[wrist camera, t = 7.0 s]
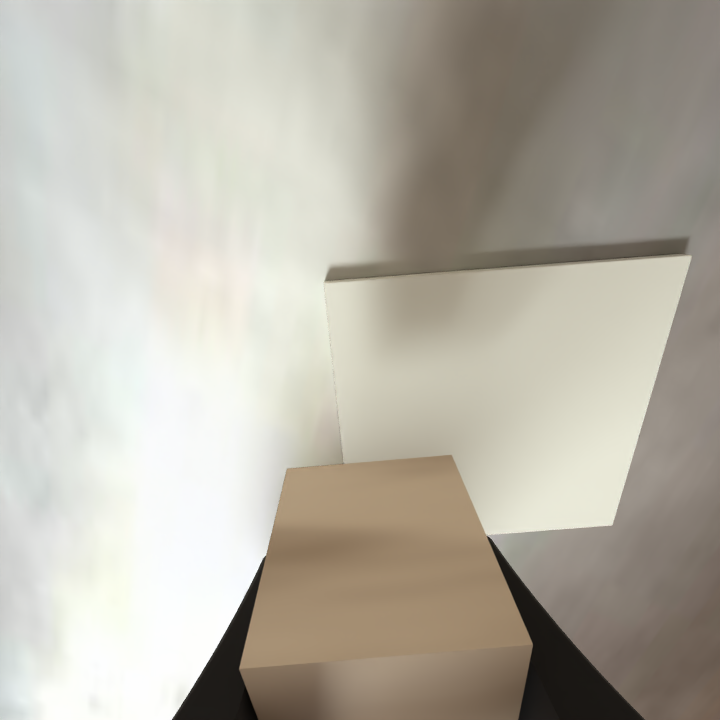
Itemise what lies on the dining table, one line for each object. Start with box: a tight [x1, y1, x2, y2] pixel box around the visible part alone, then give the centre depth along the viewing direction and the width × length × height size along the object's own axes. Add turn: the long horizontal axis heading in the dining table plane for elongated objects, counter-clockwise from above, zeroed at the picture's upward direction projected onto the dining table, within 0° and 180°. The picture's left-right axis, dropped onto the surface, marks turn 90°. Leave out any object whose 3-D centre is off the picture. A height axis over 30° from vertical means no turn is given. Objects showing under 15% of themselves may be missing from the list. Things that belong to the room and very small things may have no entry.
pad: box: [324, 254, 692, 535], centre depth 18 cm, size 16×16×1 cm
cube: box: [239, 455, 533, 720], centre depth 9 cm, size 5×5×5 cm
